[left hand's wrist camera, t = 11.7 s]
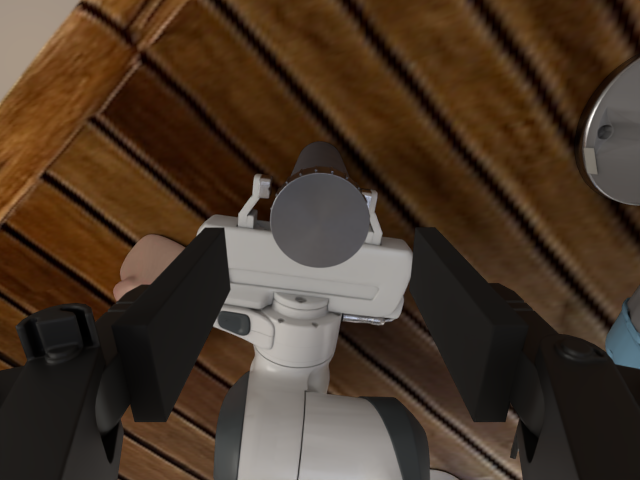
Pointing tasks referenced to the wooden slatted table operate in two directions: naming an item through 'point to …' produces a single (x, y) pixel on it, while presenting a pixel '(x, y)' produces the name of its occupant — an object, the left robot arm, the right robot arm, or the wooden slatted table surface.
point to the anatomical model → (146, 262)
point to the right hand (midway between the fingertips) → (316, 183)
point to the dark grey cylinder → (319, 157)
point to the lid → (320, 217)
